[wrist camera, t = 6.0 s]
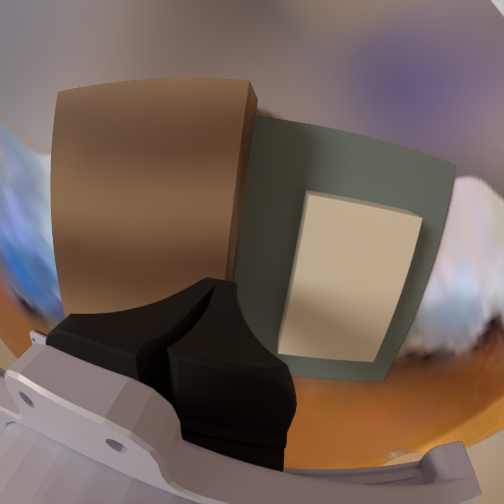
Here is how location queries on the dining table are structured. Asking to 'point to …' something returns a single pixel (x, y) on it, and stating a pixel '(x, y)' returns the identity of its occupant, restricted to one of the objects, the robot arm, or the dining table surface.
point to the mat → (289, 215)
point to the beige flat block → (345, 277)
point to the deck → (147, 188)
